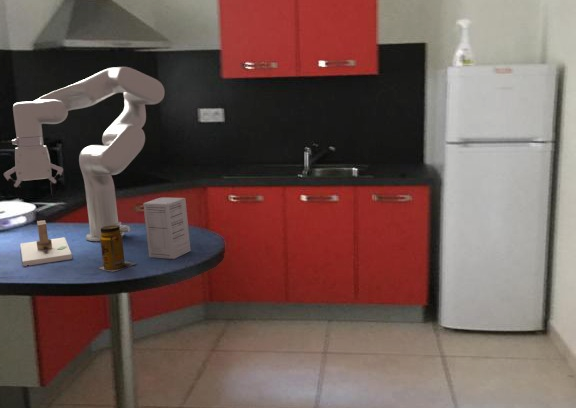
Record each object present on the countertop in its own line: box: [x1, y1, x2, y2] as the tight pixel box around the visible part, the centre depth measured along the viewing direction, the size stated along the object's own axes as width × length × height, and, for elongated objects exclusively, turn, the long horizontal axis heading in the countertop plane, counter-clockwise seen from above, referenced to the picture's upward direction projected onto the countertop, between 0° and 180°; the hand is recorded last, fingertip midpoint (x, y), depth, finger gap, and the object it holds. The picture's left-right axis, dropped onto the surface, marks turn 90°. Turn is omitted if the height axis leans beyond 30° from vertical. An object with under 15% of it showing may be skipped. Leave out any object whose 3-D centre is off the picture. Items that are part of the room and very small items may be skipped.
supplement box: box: [142, 196, 191, 260], centre depth 200 cm, size 10×9×17 cm
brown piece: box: [36, 220, 52, 253], centre depth 208 cm, size 10×4×8 cm, turn 23°
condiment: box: [98, 225, 135, 273], centre depth 191 cm, size 7×8×12 cm
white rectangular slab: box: [20, 237, 73, 267], centre depth 210 cm, size 24×14×2 cm, turn 23°
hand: (36, 197), depth 207 cm, fingers open, 9 cm apart
